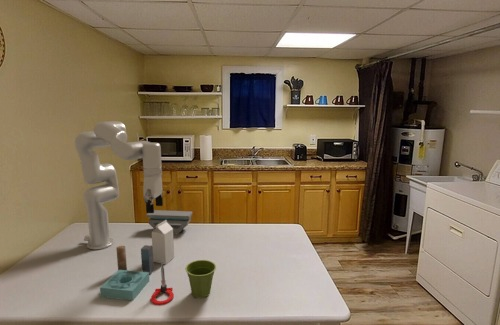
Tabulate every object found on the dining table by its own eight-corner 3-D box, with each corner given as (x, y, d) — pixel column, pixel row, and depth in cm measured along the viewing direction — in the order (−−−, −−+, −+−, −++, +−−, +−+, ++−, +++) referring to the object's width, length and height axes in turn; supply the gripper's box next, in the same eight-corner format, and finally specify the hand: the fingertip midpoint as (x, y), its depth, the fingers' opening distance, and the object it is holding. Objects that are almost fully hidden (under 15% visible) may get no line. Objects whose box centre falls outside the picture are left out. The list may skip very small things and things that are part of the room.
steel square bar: (142, 274, 137) (140, 248, 135) (146, 270, 140) (144, 245, 138) (150, 275, 136) (148, 249, 134) (153, 270, 140) (152, 245, 138)
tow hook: (172, 305, 117) (175, 289, 126) (170, 274, 114) (173, 261, 123) (149, 307, 116) (153, 291, 125) (146, 276, 113) (151, 262, 122)
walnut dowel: (116, 274, 136) (114, 249, 134) (121, 270, 140) (119, 245, 138) (124, 275, 136) (122, 249, 134) (128, 270, 139) (126, 246, 137)
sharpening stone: (147, 232, 181) (146, 214, 179) (152, 227, 189) (151, 210, 187) (189, 234, 179) (188, 216, 177) (192, 228, 187) (192, 211, 185)
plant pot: (190, 305, 116) (189, 278, 114) (183, 288, 126) (182, 263, 124) (220, 298, 120) (220, 271, 118) (211, 282, 131) (211, 257, 129)
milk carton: (174, 257, 152) (172, 220, 148) (165, 264, 145) (164, 226, 142) (161, 255, 154) (160, 218, 151) (152, 262, 147) (150, 224, 144)
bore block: (100, 296, 121) (99, 287, 120) (120, 278, 134) (119, 269, 133) (133, 300, 119) (132, 290, 118) (149, 281, 132) (148, 272, 131)
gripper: (152, 167, 143) (154, 203, 146) (135, 175, 126) (137, 215, 129) (168, 167, 142) (170, 203, 145) (152, 176, 125) (155, 216, 129)
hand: (155, 209), depth 137 cm, fingers open, 9 cm apart
